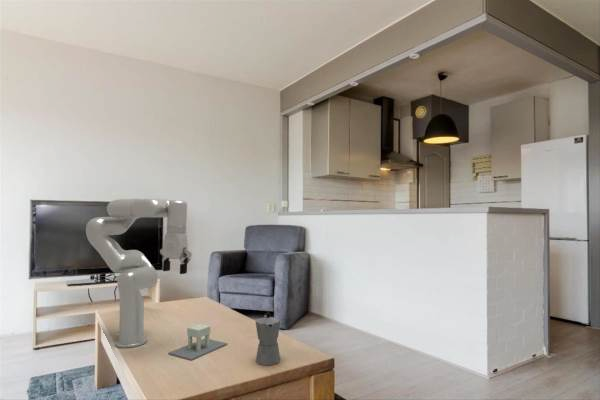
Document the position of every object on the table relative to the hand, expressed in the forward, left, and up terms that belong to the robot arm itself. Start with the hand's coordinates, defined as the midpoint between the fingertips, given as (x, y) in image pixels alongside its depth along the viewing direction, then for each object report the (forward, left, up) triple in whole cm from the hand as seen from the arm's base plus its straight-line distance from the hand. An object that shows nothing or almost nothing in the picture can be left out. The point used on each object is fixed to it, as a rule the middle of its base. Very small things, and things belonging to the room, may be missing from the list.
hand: (174, 272), depth 154 cm
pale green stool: (+8, +6, -31) cm, 32 cm away
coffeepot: (+39, +11, -32) cm, 51 cm away
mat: (+8, +6, -32) cm, 33 cm away
